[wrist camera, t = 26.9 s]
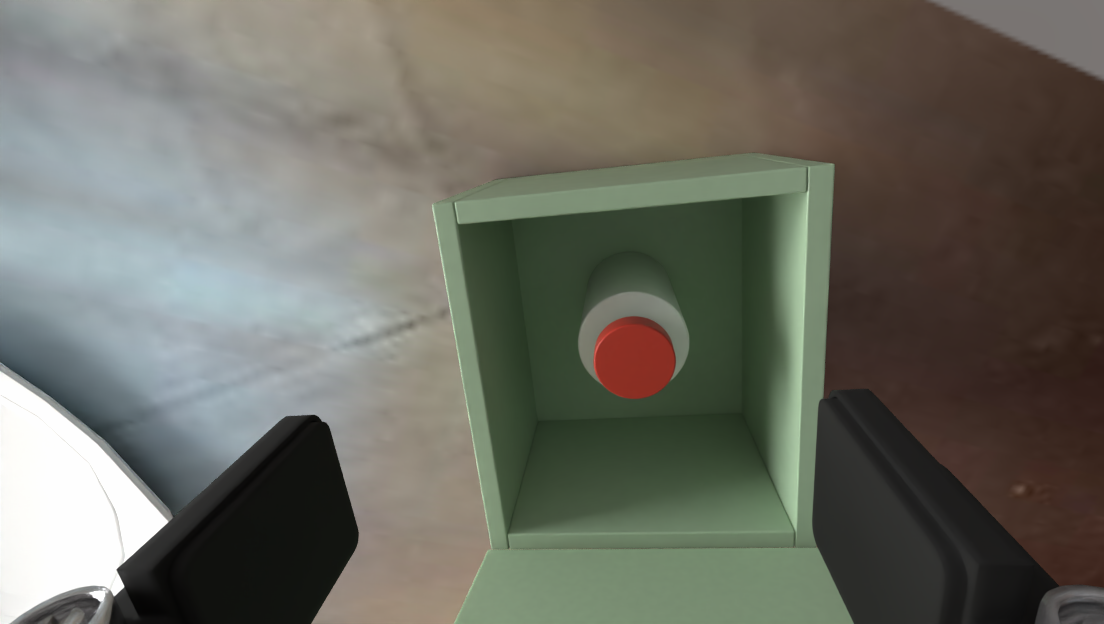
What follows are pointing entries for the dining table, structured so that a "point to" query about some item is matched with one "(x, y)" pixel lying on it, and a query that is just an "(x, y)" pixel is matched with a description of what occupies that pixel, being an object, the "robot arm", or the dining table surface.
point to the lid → (654, 587)
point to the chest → (688, 399)
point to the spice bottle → (632, 327)
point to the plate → (63, 502)
